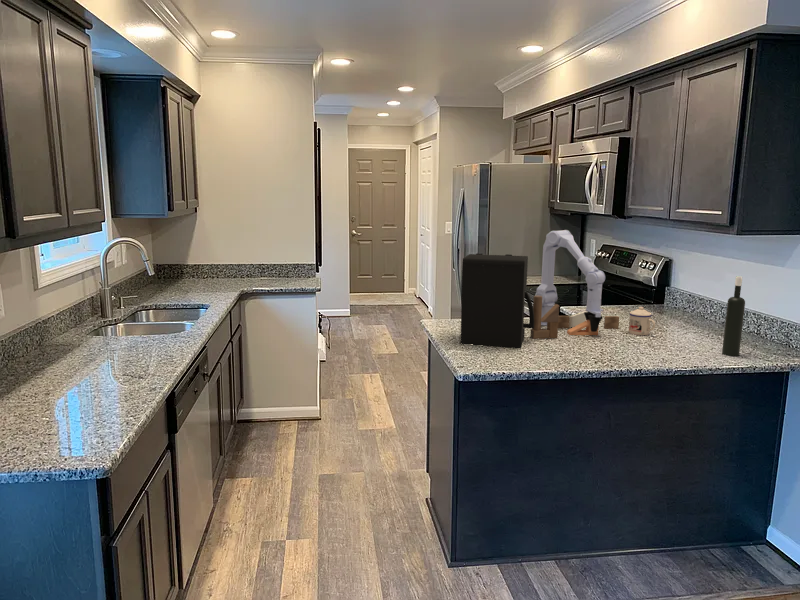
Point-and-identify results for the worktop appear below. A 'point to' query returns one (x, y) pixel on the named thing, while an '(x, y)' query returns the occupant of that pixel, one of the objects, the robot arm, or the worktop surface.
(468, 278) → the black upright box
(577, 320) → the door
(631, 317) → the teacup with lid
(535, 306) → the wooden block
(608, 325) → the brown rectangular block
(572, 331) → the wedge
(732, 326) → the wine bottle
